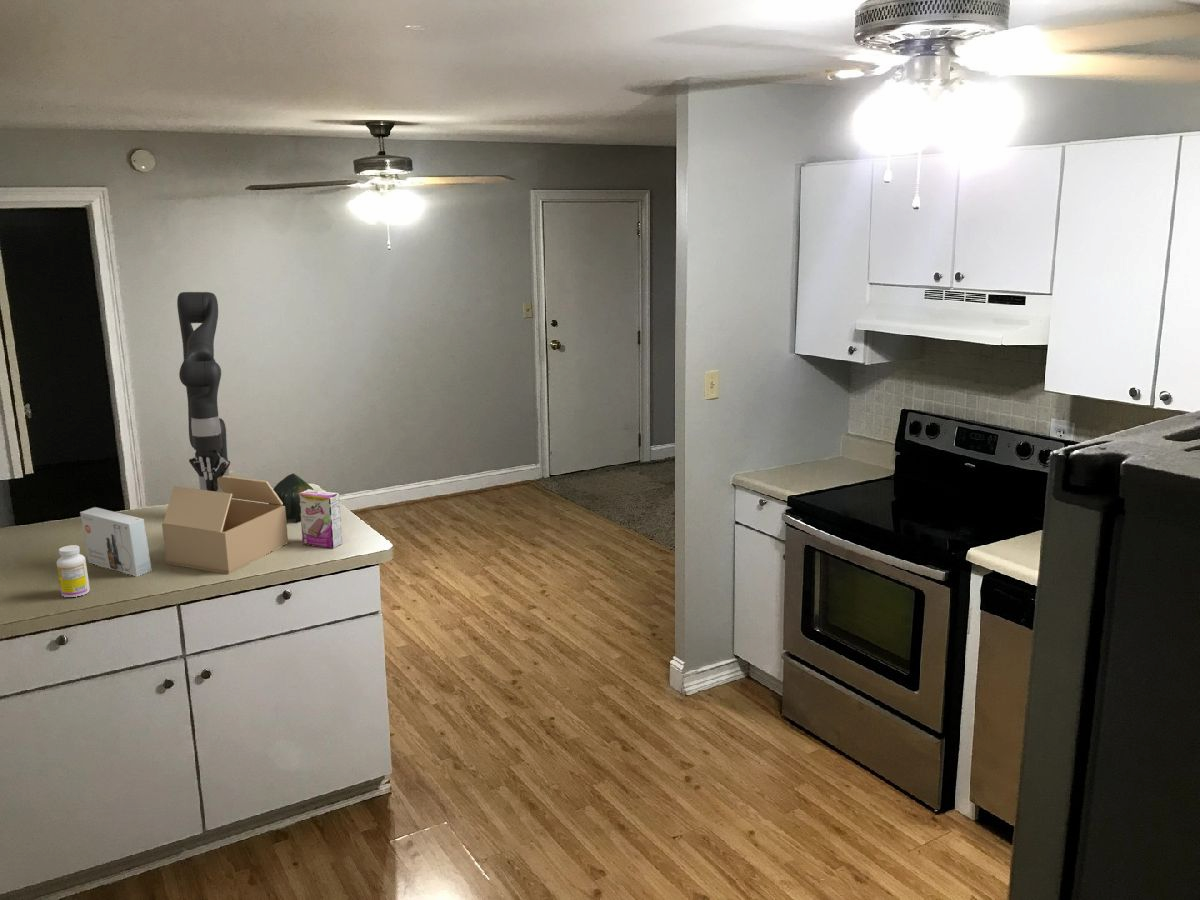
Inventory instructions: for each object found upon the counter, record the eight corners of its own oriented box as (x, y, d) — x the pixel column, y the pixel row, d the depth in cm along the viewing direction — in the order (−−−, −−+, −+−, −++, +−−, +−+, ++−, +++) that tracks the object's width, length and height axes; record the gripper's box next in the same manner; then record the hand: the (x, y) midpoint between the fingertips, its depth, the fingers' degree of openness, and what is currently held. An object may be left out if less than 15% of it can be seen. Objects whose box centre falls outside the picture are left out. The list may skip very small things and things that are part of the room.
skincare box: (86, 564, 268) (78, 511, 264) (103, 558, 273) (96, 506, 269) (135, 578, 258) (128, 523, 254) (152, 571, 263) (146, 517, 259)
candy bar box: (301, 545, 284) (297, 493, 280) (311, 539, 289) (307, 488, 284) (333, 549, 280) (329, 497, 276) (343, 544, 285) (339, 492, 281)
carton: (166, 563, 269) (161, 523, 266) (229, 535, 292) (225, 498, 289) (229, 574, 262) (224, 533, 259) (288, 543, 285) (285, 506, 282)
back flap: (210, 475, 281) (211, 473, 281) (228, 497, 289) (229, 496, 289) (266, 482, 274) (267, 480, 275) (282, 505, 282) (283, 503, 282)
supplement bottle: (68, 589, 251) (61, 543, 248) (94, 588, 251) (88, 543, 248) (56, 599, 244) (49, 552, 241) (83, 598, 245) (76, 552, 242)
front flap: (164, 523, 265) (163, 523, 265) (175, 486, 268) (173, 486, 267) (221, 532, 259) (220, 531, 258) (232, 494, 261) (231, 493, 261)
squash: (284, 513, 295) (305, 471, 301) (252, 507, 303) (274, 466, 309) (313, 532, 306) (333, 491, 312) (282, 526, 314) (302, 486, 320)
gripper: (177, 433, 262) (184, 492, 266) (216, 437, 258) (222, 497, 262) (197, 427, 269) (203, 485, 273) (235, 431, 265) (240, 490, 269)
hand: (212, 491), depth 268 cm, fingers closed
